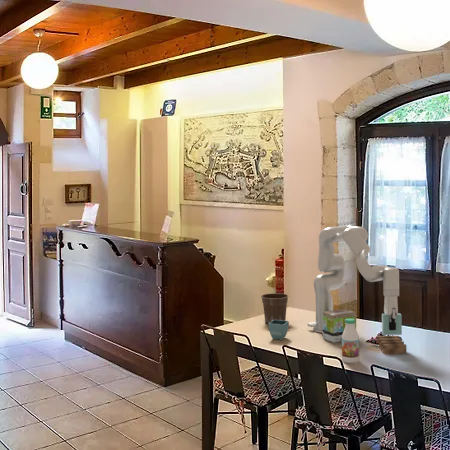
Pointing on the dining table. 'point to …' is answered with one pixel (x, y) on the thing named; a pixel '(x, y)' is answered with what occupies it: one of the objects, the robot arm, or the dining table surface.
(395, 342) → the rack
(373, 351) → the dining table surface
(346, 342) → the milk bottle
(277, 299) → the plant pot
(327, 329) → the tea box
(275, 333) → the flower pot
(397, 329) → the mint green block
